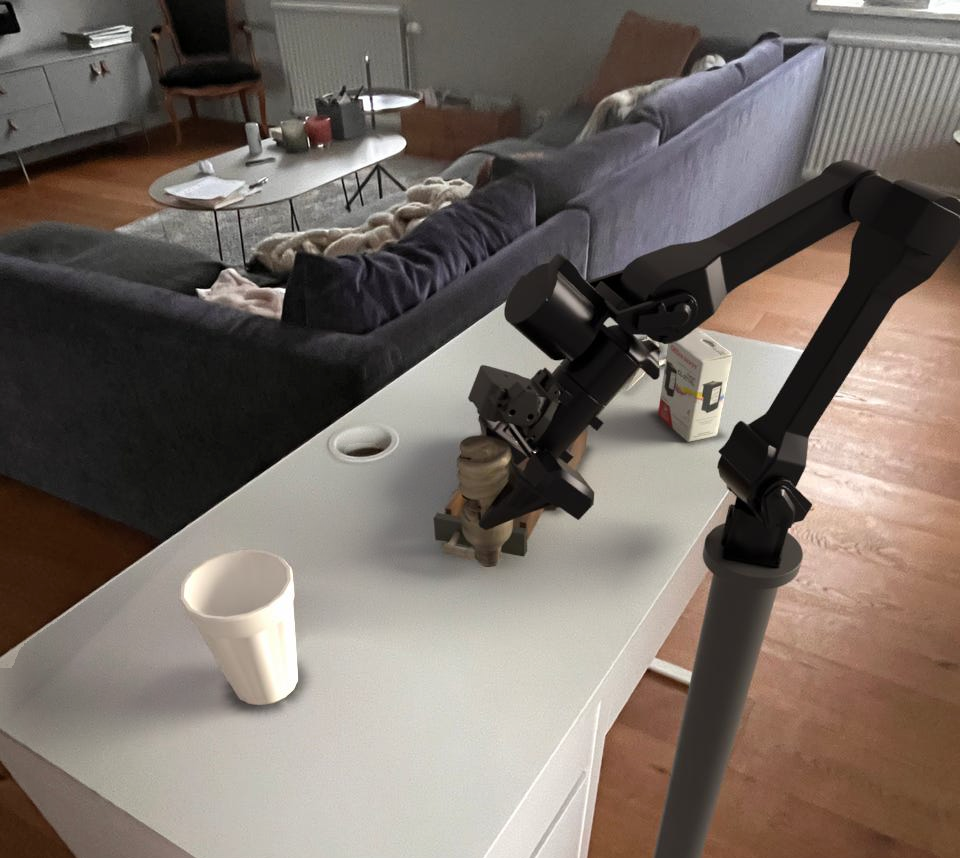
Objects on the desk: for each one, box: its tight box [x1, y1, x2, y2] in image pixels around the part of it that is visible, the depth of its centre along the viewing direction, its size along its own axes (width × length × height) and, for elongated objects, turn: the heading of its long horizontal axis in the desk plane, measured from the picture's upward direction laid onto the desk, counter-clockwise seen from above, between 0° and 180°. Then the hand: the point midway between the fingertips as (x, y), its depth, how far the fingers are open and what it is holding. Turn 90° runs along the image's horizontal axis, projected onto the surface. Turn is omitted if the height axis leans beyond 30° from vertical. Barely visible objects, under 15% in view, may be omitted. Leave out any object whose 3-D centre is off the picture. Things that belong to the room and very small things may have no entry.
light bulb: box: [455, 434, 514, 568], centre depth 80 cm, size 6×6×15 cm
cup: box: [178, 548, 299, 706], centre depth 77 cm, size 10×10×13 cm
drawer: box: [433, 487, 545, 562], centre depth 98 cm, size 18×11×3 cm, turn 160°
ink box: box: [657, 330, 733, 443], centre depth 112 cm, size 9×5×12 cm, turn 21°
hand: (472, 512), depth 80 cm, fingers closed on light bulb, 5 cm apart
